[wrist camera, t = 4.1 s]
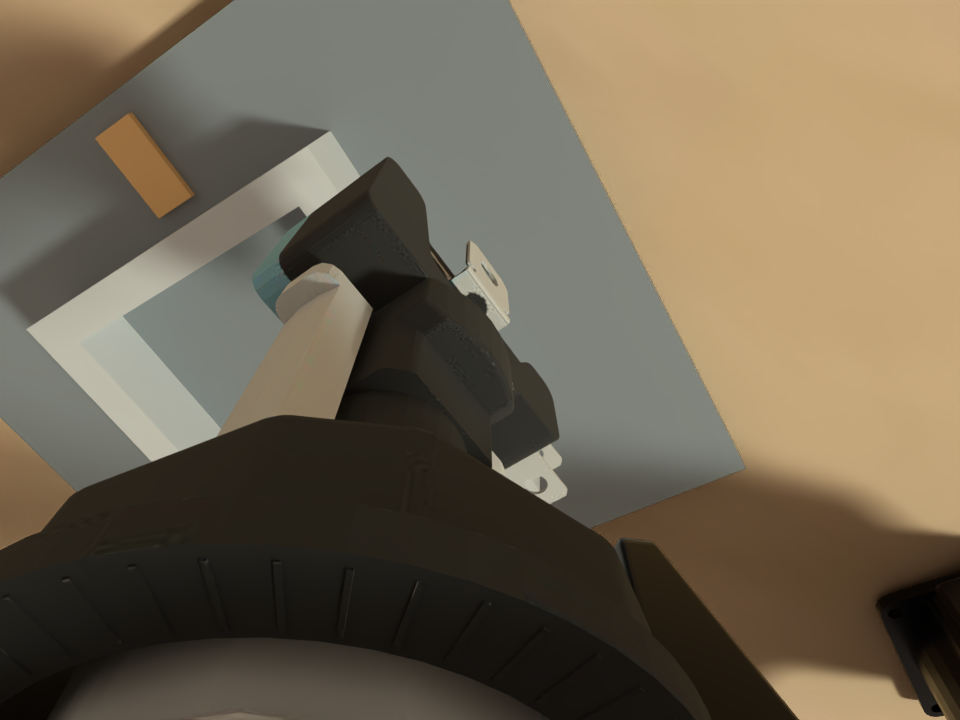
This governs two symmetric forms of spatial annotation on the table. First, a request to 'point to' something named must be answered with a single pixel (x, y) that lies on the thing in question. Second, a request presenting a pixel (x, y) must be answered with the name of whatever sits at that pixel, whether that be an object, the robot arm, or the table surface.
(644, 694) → the push button
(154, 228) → the socket board
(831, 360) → the table surface
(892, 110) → the table surface
